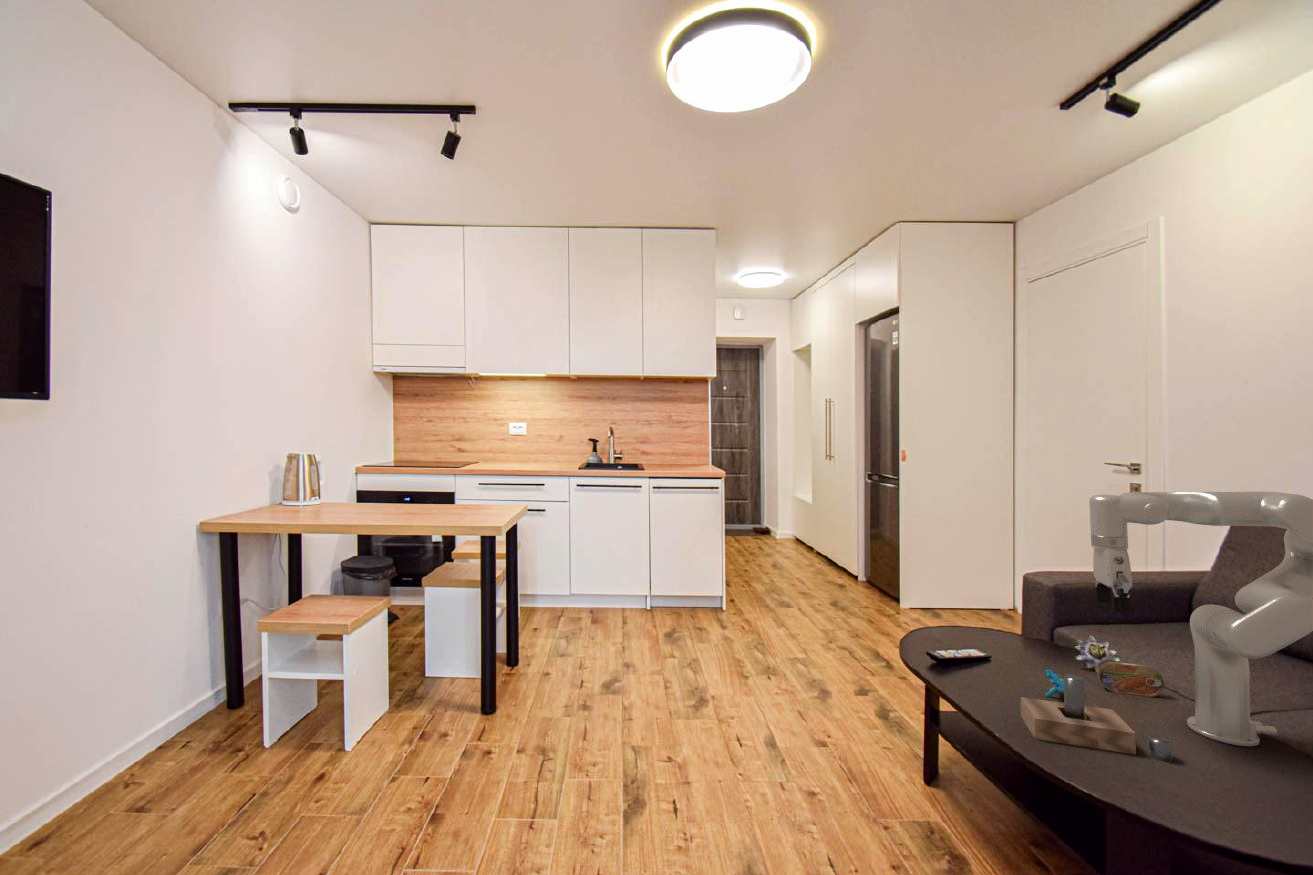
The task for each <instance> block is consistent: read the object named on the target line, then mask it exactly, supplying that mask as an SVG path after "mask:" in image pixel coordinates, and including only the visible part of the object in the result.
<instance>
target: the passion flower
mask: <svg viewBox="0 0 1313 875" xmlns="http://www.w3.org/2000/svg"><path fill="white" fill-rule="evenodd" d="M1073 643H1074V645H1075V646H1073V648H1074V649H1076V650H1078V651H1079V654H1077V655H1075V656H1074V660H1076V661H1084V662H1085V666H1086V668H1087V670H1089V669H1090V670H1091V669H1093V670H1094V671H1095V673H1097V671H1098V668H1099V667H1100V665H1102V664H1103V663H1106V662H1119V663H1121V660H1120V658H1119V657H1118V656H1117V655H1116V654H1117V651H1115V650H1112V649H1110V648H1109V645H1110V644H1109V642H1108V641H1106V642H1098V639H1095V637H1094V636H1093V635H1090V636H1089V637H1088V639H1086V640H1080V639H1077V640H1076V641H1075V640H1074V641H1073Z"/></svg>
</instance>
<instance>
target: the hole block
mask: <svg viewBox="0 0 1313 875" xmlns="http://www.w3.org/2000/svg"><path fill="white" fill-rule="evenodd" d="M1020 717H1021V719H1022V720H1023V722H1024V723H1025V725H1026V727H1027V728H1028V730H1029V731H1030V733H1031V735H1032V737H1033V738H1034V740H1039V741H1047V742H1052V743H1059V744H1065V745H1071V746H1072V745H1073V746H1077V747H1078V746H1079V747H1084V748H1091V749H1096V750H1097V749H1098V750H1104V751H1110V752H1117V753H1121V754H1129V755H1137V744H1136V743H1137V742H1136V741H1137V740H1136V737H1137V733H1136V732H1135V731H1134V730H1133V729H1132V728H1131V727H1130V726H1129V725H1128V723H1126V722H1125V721H1124V720H1123V718H1121V717H1120V715H1119V714H1118V713H1116V712H1115V710H1113V709H1109V708H1103V707H1096V706H1088V705H1084V720H1080V719H1073V718H1066V717H1064V702H1059V701H1051V700H1045V699H1044V700H1043V699H1038V698H1032V697H1031V698H1029V697H1023V696H1020Z"/></svg>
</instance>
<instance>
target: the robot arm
mask: <svg viewBox="0 0 1313 875" xmlns="http://www.w3.org/2000/svg"><path fill="white" fill-rule="evenodd" d="M1088 503H1089V523H1090V527H1089V528H1090V546H1091V547H1092V548H1093V556H1092V557H1093V558H1092V559H1093V561H1092V562H1093V564H1092V566H1093V569H1092V570H1093V579H1094V586H1095V587H1094V589H1095V601H1096V603H1097V602H1098V603H1108V604H1109V603H1111V602H1112V608H1113V610H1112V611H1113V612H1114V613H1115V614H1116V613H1118V614H1130V597H1131V596H1130V592H1131V590H1130V589H1132V588H1133V579H1132V568H1131V562H1130V557H1129V556H1130V555H1129V553H1128V550H1129V538H1128V537H1129V535H1128V523H1129V524H1131V523H1132V524H1140V525H1147V526H1148V525H1150V526H1152V525H1158V524H1160V523H1161V524H1162V523H1163V522H1165V521H1173V522H1184V523H1190V524H1194V525H1201V526H1212V527H1213V526H1215V527H1219V526H1220V527H1223V526H1224V527H1227V526H1229V527H1230V526H1234V527H1241V526H1243V527H1247V526H1248V527H1273V528H1274V527H1275V528H1280V529H1285V530H1286V531H1285V532H1284V536H1283V543H1284V548H1285V550H1284V551H1285V552H1284V558H1283V560H1282V561H1281V562H1280V564H1279V565H1277V566H1276V567H1275V568H1273V569H1272V570H1270V571H1269V572H1267V573H1265V574H1263V575H1262V576H1260V577H1258V578H1256V579H1254V580H1253V581H1252V582H1250V583H1248V584H1247V585H1245V586H1243V587H1241V588H1240V589H1239V590H1238V591H1237V592H1236V594H1235V595H1234V601H1235V605H1236V606H1237V608H1238V609H1239V610H1240V611H1242V612H1243V613H1244V614H1243V613H1241V612H1239V611H1236V610H1233V609H1232V608H1229V607H1227V606H1223V605H1219V604H1204V605H1200V606H1198V607H1197V608H1196V609H1194V610H1193V611H1192V613H1191V615H1190V618H1189V627H1190V633H1191V637H1192V640H1193V647H1194V648H1193V649H1194V703H1195V704H1194V706H1195V710H1194V711H1195V712H1194V713H1195V716H1189V717H1188V718H1187V719H1186V724H1187V727H1189V728H1190V729H1191V730H1192V731H1193V732H1196V733H1198V734H1199V735H1202V736H1204V737H1205V738H1209V739H1211V740H1215V741H1218V742H1220V743H1224V744H1230V745H1233V746H1239V747H1240V746H1241V747H1255V746H1258V745H1259V744H1260V741H1261V740H1260V737H1259V736H1258V735H1261V734H1265V735H1272V736H1277V735H1278V730H1277V728H1276V727H1275V726H1270V725H1263V723H1262V722H1261V721H1254V720H1251V704H1250V703H1251V702H1250V698H1251V697H1250V690H1251V689H1250V685H1251V684H1250V674H1251V673H1250V662H1249V660H1250V659H1253V660H1254V659H1255V660H1257V659H1263V658H1265V657H1268V656H1271V655H1272V654H1274V653H1277V652H1278V651H1280V650H1282V649H1284V648H1286V647H1287V646H1289V645H1291V644H1293V643H1295V642H1297V641H1298V640H1300V639H1303V638H1304V637H1305V636H1308V635H1309V634H1310V633H1312V632H1313V498H1310V497H1308V496H1305V495H1304V494H1303V495H1301V494H1295V493H1286V492H1277V491H1187V492H1185V491H1181V492H1178V491H1177V492H1176V491H1175V492H1174V491H1172V492H1171V491H1167V492H1166V491H1151V492H1150V491H1144V492H1143V491H1142V492H1139V491H1138V492H1137V491H1135V492H1133V491H1132V492H1129V491H1128V492H1124V493H1121V494H1119V495H1117V494H1116V495H1115V494H1095V495H1091V497H1089V502H1088ZM1111 590H1112V592H1113V595H1114V596H1112V597H1111Z"/></svg>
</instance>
